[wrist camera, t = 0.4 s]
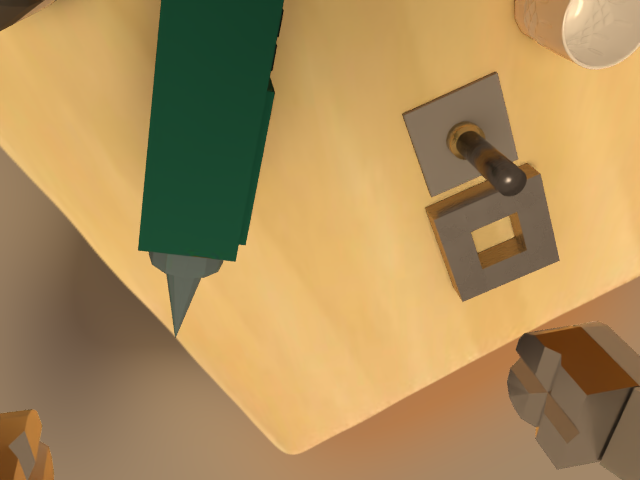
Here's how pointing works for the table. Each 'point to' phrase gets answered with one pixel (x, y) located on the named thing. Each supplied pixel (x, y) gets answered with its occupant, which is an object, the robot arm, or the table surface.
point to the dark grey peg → (485, 158)
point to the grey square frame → (503, 259)
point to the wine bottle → (19, 10)
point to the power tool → (206, 136)
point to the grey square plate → (446, 111)
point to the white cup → (583, 28)
